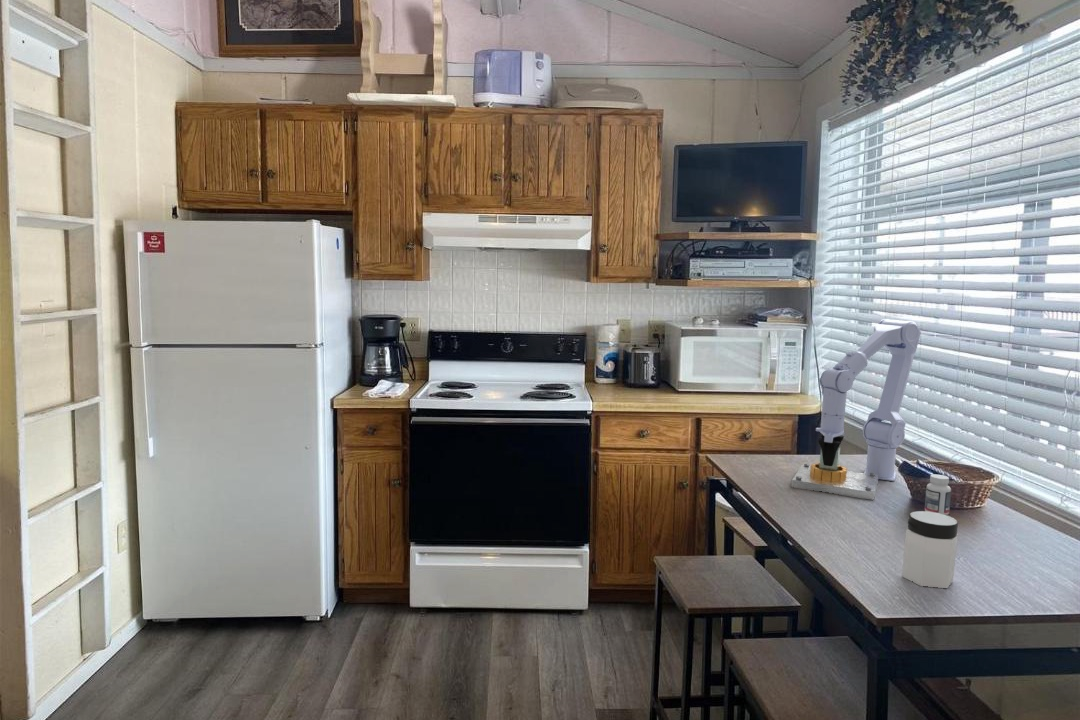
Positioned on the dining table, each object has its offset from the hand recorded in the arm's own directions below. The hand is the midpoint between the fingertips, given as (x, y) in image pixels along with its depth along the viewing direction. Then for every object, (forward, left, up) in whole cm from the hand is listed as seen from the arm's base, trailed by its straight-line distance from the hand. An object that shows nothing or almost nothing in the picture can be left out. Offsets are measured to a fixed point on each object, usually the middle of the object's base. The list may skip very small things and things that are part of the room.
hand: (829, 463), depth 201 cm
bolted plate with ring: (0, +2, -6) cm, 6 cm away
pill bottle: (+11, +26, -6) cm, 29 cm away
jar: (+57, +24, -6) cm, 62 cm away
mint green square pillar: (0, 0, -2) cm, 2 cm away
